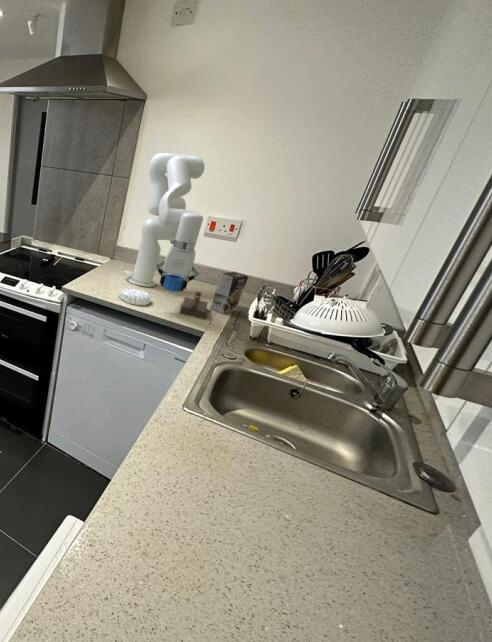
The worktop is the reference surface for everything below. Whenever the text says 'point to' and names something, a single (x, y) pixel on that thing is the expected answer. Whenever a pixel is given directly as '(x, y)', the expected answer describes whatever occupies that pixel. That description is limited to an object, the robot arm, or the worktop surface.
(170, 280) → the blue ribbed cylinder
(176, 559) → the worktop surface
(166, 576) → the worktop surface
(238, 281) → the coffee box
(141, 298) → the mooncake
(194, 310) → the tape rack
